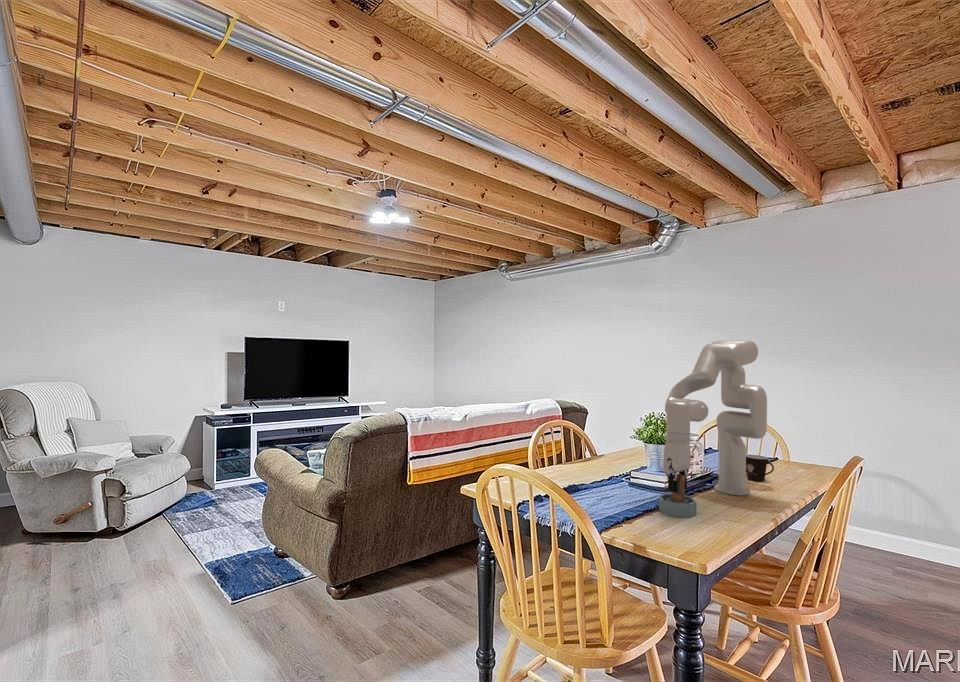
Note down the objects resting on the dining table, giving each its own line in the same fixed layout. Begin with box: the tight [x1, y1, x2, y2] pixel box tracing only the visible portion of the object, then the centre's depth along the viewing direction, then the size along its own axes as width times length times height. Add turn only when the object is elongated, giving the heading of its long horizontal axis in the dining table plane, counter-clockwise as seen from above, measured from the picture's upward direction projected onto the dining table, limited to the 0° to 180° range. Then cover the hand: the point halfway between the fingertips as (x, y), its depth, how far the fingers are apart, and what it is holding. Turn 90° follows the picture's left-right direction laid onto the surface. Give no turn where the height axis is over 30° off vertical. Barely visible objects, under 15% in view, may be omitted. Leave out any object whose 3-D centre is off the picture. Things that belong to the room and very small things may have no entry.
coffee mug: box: [746, 454, 775, 483], centre depth 209 cm, size 12×9×10 cm
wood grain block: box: [671, 473, 686, 503], centre depth 167 cm, size 3×3×12 cm
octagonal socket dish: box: [658, 493, 697, 519], centre depth 167 cm, size 11×11×4 cm
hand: (677, 489), depth 167 cm, fingers open, 4 cm apart
